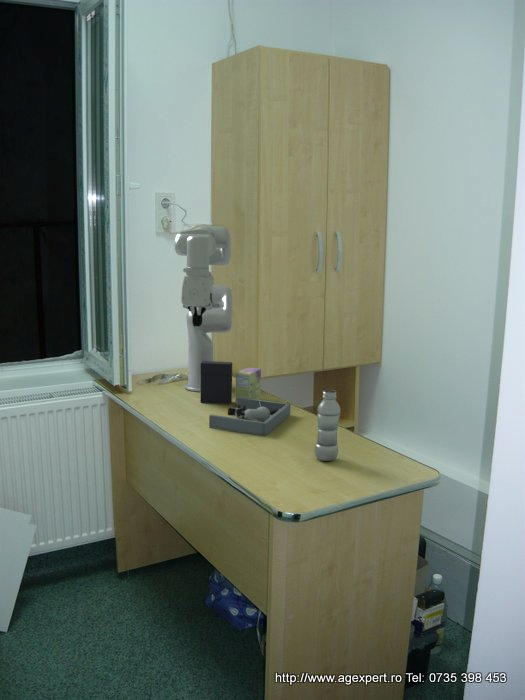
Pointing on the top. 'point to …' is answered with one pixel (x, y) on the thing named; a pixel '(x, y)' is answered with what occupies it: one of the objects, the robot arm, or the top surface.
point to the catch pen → (250, 425)
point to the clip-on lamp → (252, 413)
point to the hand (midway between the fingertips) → (197, 325)
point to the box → (248, 384)
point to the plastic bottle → (327, 427)
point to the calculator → (216, 382)
